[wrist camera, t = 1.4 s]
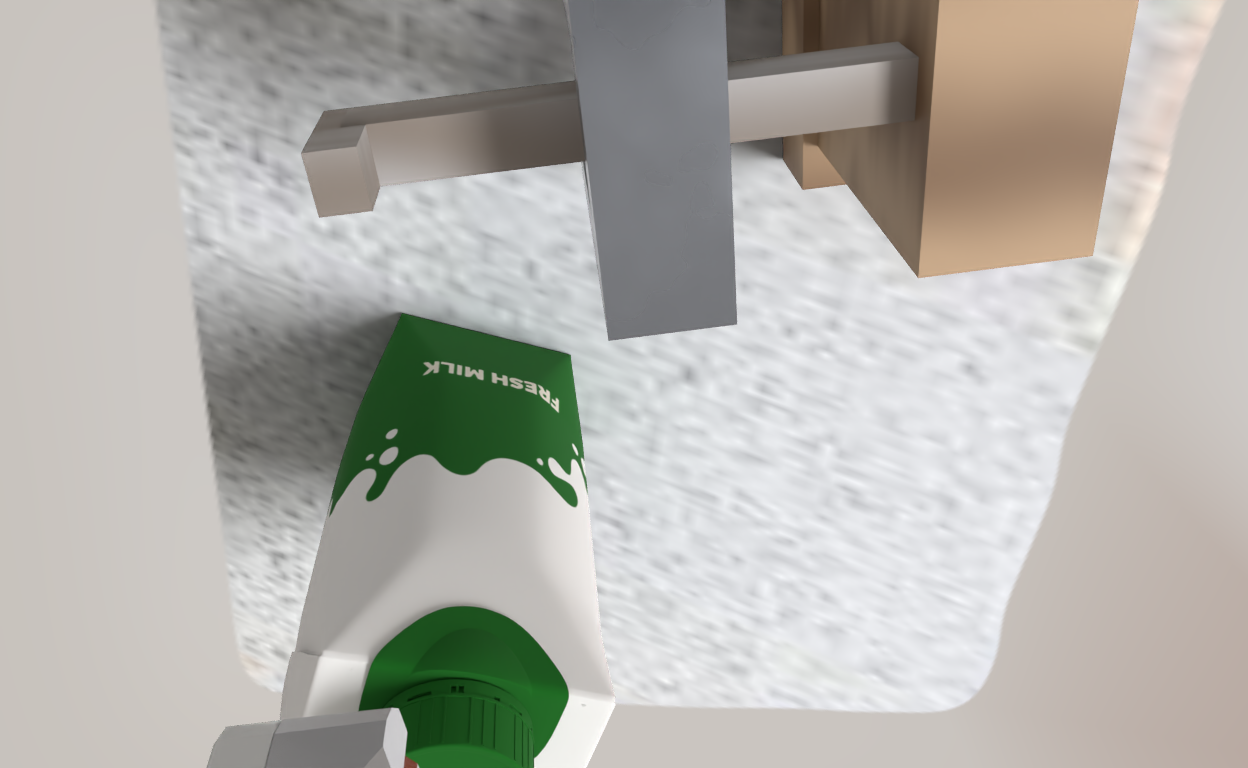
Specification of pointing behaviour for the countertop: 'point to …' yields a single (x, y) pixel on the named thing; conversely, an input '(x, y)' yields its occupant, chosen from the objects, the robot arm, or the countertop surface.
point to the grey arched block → (657, 160)
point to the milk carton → (460, 560)
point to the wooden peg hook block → (838, 124)
